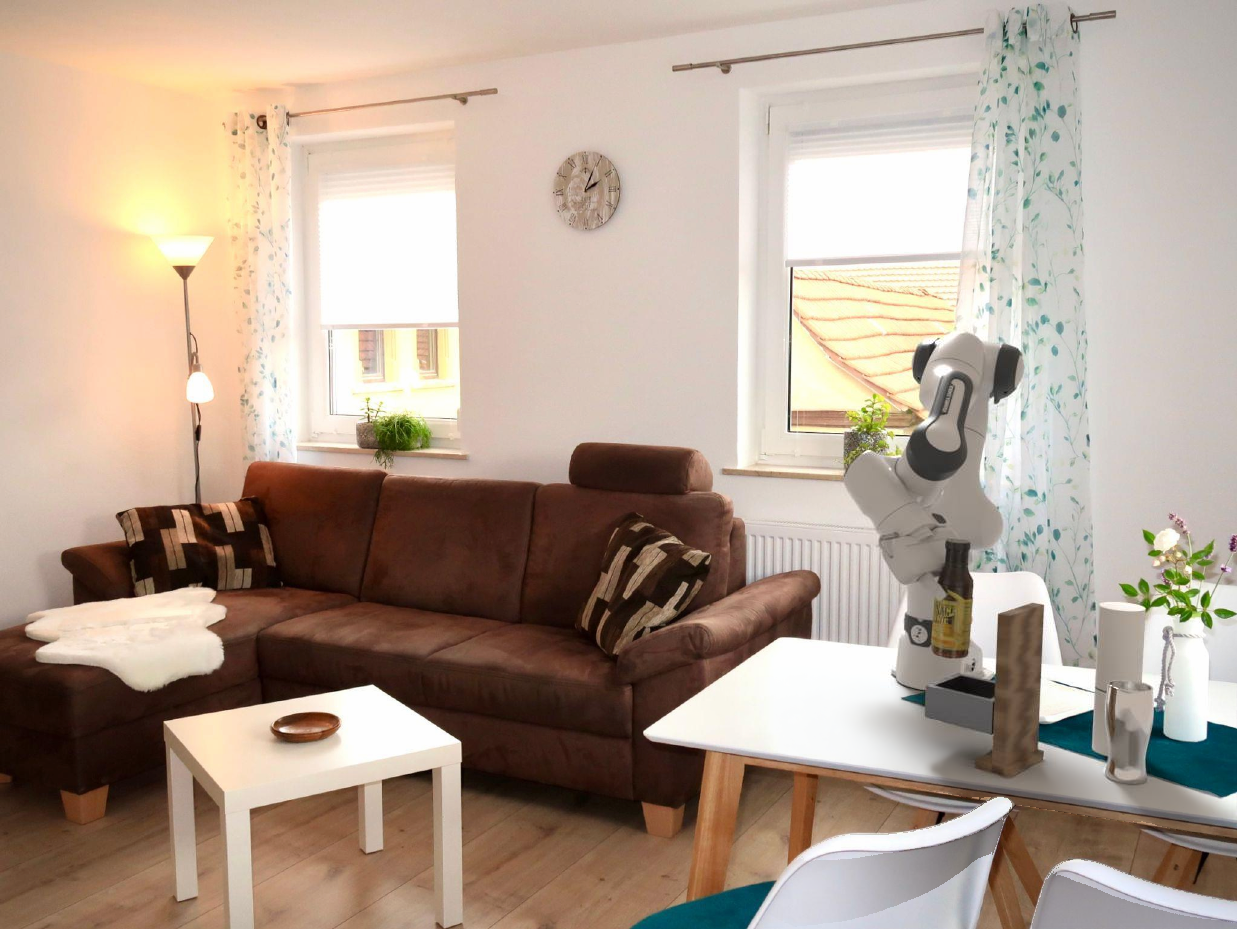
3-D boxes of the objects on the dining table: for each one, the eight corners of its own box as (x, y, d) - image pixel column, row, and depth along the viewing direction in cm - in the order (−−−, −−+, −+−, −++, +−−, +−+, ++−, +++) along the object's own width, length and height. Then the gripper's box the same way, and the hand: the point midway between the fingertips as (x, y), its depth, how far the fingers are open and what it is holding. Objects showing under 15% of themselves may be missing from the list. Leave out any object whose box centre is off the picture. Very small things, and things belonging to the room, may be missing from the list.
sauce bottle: (923, 652, 184) (928, 537, 183) (952, 649, 187) (957, 536, 185) (948, 661, 178) (953, 543, 177) (978, 658, 181) (983, 541, 179)
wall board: (1008, 750, 183) (1015, 599, 180) (1043, 759, 178) (1050, 605, 176) (974, 767, 175) (980, 610, 172) (1009, 778, 170) (1016, 617, 168)
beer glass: (1155, 787, 167) (1160, 693, 165) (1107, 783, 168) (1112, 690, 167) (1143, 771, 174) (1147, 680, 172) (1097, 767, 175) (1101, 677, 174)
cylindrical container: (1135, 761, 178) (1143, 613, 176) (1088, 753, 182) (1095, 607, 179) (1140, 748, 184) (1148, 605, 182) (1095, 740, 188) (1102, 600, 185)
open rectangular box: (957, 703, 189) (958, 672, 188) (1026, 720, 180) (1027, 688, 179) (924, 717, 181) (925, 685, 181) (994, 735, 172) (995, 702, 172)
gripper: (885, 525, 179) (936, 592, 172) (949, 514, 193) (998, 576, 186) (862, 548, 182) (911, 614, 176) (926, 536, 196) (974, 597, 190)
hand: (956, 595), depth 181 cm, fingers closed on sauce bottle, 6 cm apart
